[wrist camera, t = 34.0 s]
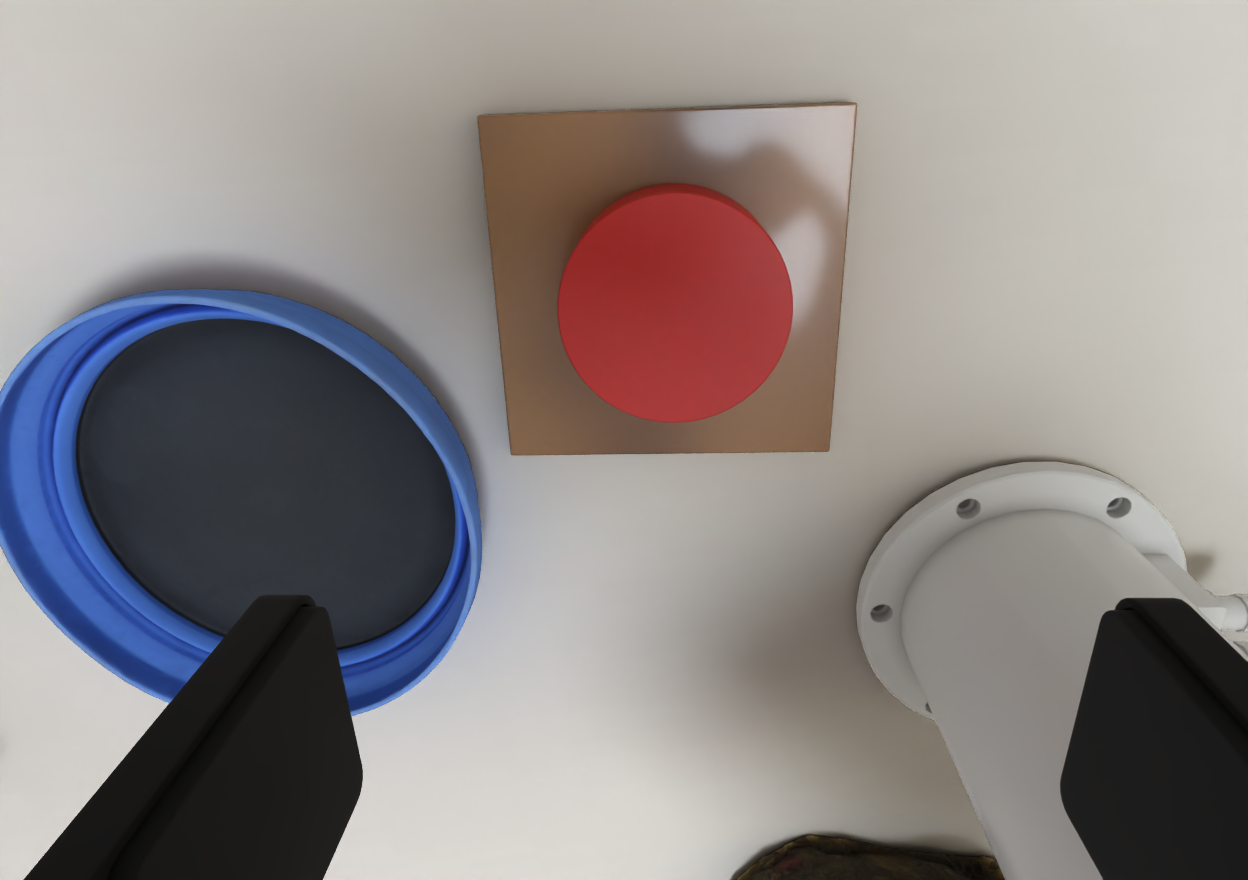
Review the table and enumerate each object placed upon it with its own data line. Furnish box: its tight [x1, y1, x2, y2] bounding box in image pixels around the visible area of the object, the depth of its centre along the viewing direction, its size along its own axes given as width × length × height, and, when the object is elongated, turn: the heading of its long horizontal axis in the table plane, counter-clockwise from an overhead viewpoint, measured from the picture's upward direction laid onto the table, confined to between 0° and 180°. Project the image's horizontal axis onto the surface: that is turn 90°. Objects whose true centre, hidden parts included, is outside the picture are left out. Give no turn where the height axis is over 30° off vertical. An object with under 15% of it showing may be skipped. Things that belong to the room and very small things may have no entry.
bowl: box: [0, 289, 482, 716], centre depth 30 cm, size 18×18×4 cm
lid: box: [558, 183, 793, 423], centre depth 26 cm, size 8×8×2 cm
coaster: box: [477, 102, 857, 455], centre depth 28 cm, size 12×12×1 cm
